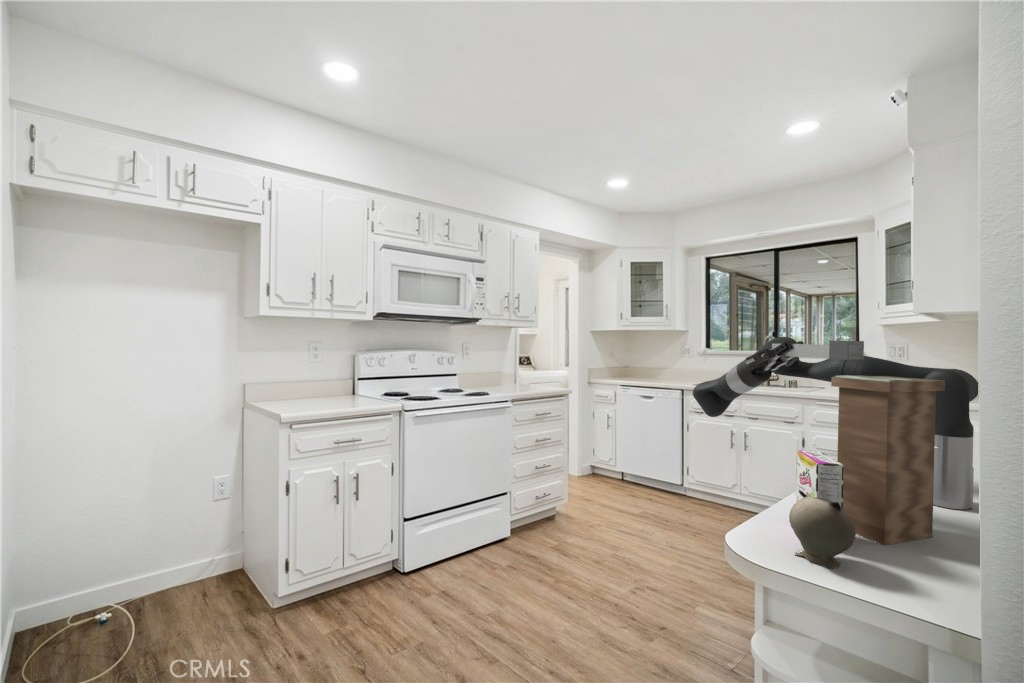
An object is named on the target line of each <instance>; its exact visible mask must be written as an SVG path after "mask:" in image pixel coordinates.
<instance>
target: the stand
mask: <svg viewBox="0 0 1024 683" xmlns="http://www.w3.org/2000/svg"><path fill="white" fill-rule="evenodd" d="M830 384H831V386H830V387H837V388H838V418H837V419H838V424H837V425H838V426H837V427H838V428H837V460H836V461H837V462H839V463H841V464H843V465H844V466H843V510H844V512H845V513H846V514H847V515H848V517H849V518H851V520H852V521H853V522H854V524H855V530H856V534H858V535H857V536H859V535H860V536H859V537H861V536H863V537H862V538H864V537H865V538H864V539H867V538H868V539H867V540H869V539H871V540H870V541H872V540H873V541H872V542H874V541H876V542H875V543H877V542H878V543H877V544H879V543H880V545H882V544H883V545H882V546H889V545H888V544H890V545H894V543H895V544H900V543H899V542H901V543H906V542H905V541H907V542H912V541H917V540H916V539H918V540H922V539H921V538H924V539H928V538H927V537H930V538H933V524H934V521H933V520H934V505H933V489H934V448H935V406H936V391H945V381H941V380H928V379H915V378H902V377H889V376H861V375H848V376H835V377H831V382H830ZM911 540H912V541H911Z"/></svg>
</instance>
